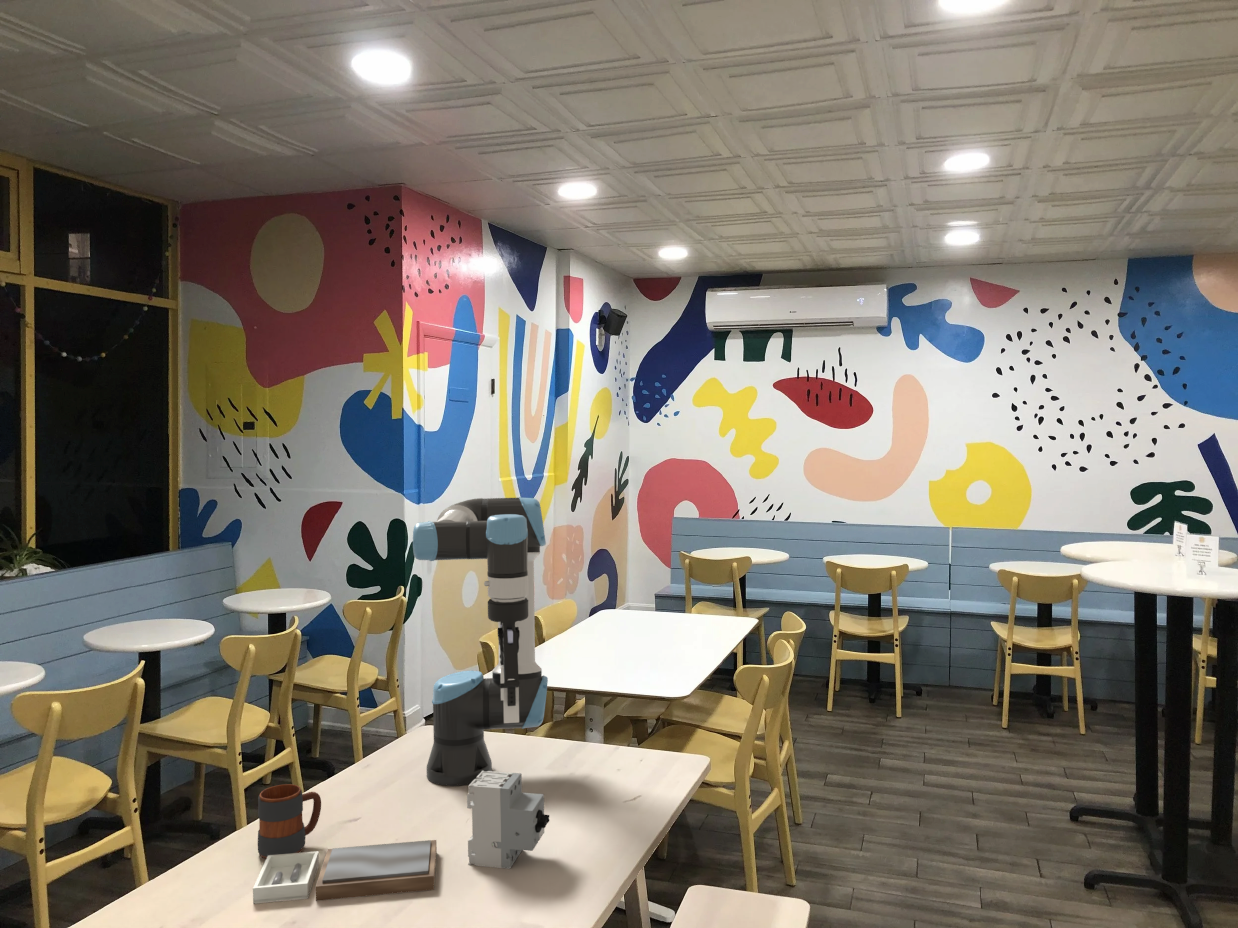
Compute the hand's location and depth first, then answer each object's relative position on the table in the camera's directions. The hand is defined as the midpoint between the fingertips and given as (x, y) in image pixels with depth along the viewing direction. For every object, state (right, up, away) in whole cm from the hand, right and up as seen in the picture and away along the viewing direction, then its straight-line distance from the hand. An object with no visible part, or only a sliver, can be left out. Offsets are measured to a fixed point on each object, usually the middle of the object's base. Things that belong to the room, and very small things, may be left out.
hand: (509, 710), depth 169 cm
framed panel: (-23, -29, -5) cm, 37 cm away
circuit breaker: (0, -29, +1) cm, 29 cm away
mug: (-43, -29, +6) cm, 52 cm away
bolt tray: (-39, -29, -7) cm, 49 cm away
